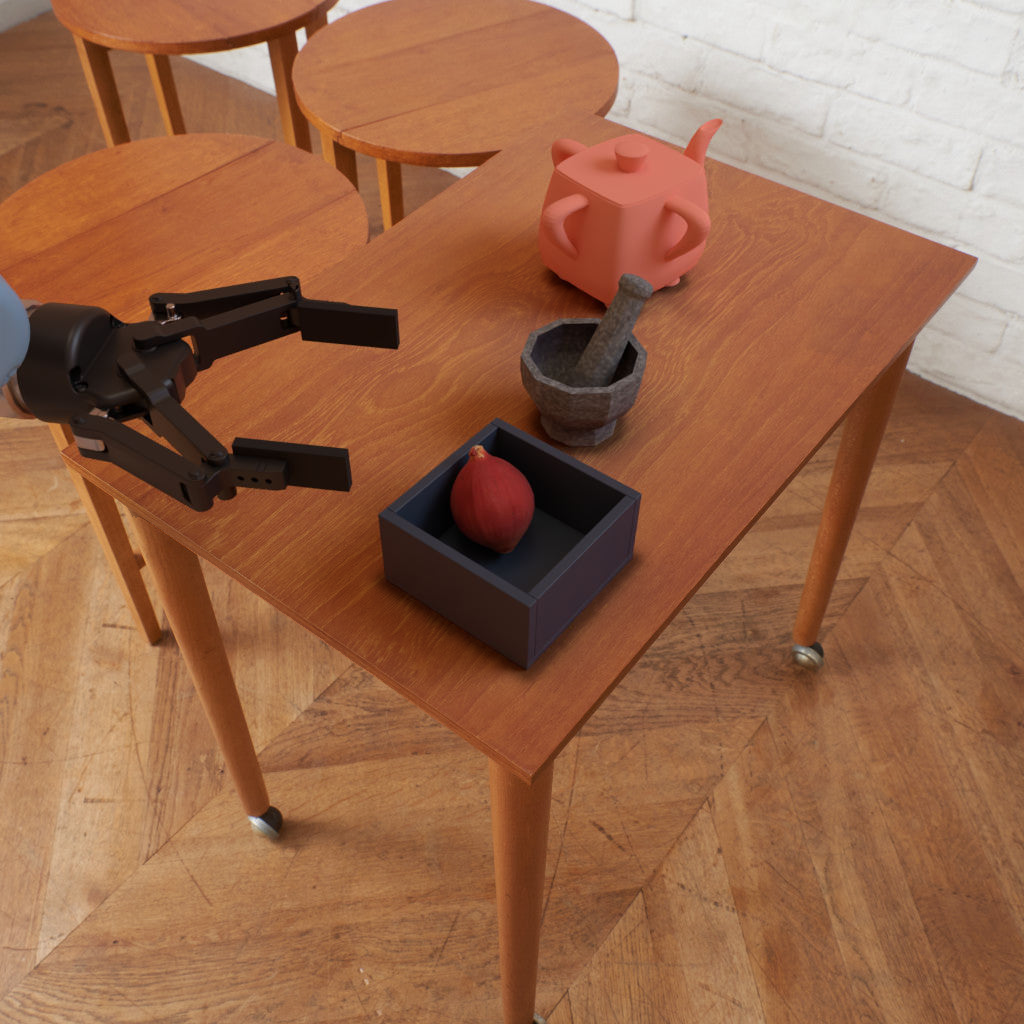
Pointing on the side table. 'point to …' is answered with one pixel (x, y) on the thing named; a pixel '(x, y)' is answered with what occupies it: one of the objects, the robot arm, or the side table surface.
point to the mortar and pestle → (587, 368)
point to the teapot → (625, 211)
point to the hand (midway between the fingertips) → (375, 395)
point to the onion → (492, 501)
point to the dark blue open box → (534, 561)
